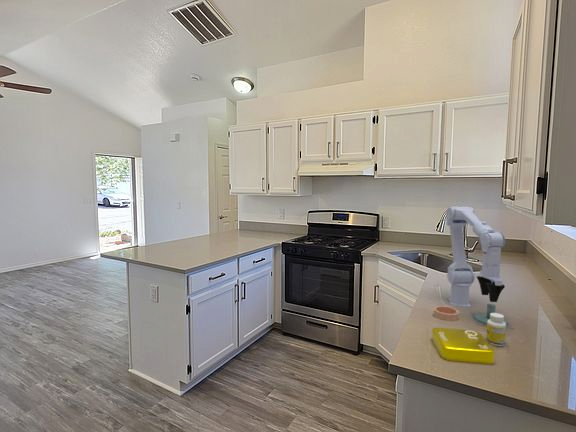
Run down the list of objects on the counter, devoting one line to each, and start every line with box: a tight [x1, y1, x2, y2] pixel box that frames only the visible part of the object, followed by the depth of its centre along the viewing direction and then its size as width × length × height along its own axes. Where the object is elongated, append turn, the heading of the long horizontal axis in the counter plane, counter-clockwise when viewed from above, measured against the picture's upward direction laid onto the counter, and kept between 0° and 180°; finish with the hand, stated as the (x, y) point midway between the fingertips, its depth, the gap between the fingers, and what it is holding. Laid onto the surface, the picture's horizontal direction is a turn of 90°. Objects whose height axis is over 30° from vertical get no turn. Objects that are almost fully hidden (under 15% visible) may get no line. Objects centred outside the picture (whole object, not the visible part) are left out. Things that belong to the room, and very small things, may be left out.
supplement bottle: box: [486, 312, 507, 347], centre depth 108 cm, size 5×5×10 cm
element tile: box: [431, 327, 496, 365], centre depth 104 cm, size 15×15×5 cm
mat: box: [470, 312, 515, 330], centre depth 126 cm, size 12×12×1 cm
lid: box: [474, 303, 509, 325], centre depth 125 cm, size 11×11×6 cm
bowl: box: [432, 305, 460, 322], centre depth 130 cm, size 9×9×3 cm
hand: (489, 298), depth 124 cm, fingers open, 7 cm apart
